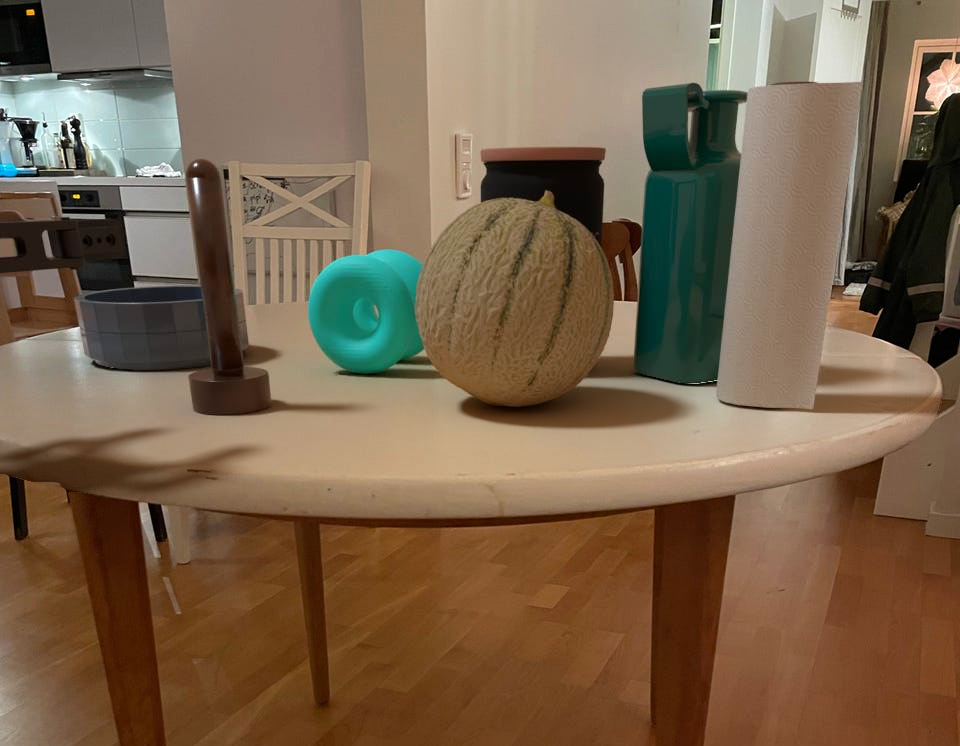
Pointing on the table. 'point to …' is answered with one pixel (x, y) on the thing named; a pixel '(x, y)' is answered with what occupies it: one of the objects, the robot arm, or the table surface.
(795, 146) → the paper towel roll
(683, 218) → the pitcher
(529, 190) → the coffee jar
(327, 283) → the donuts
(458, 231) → the cantaloupe
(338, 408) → the table surface
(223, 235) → the wooden masher
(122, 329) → the bowl
